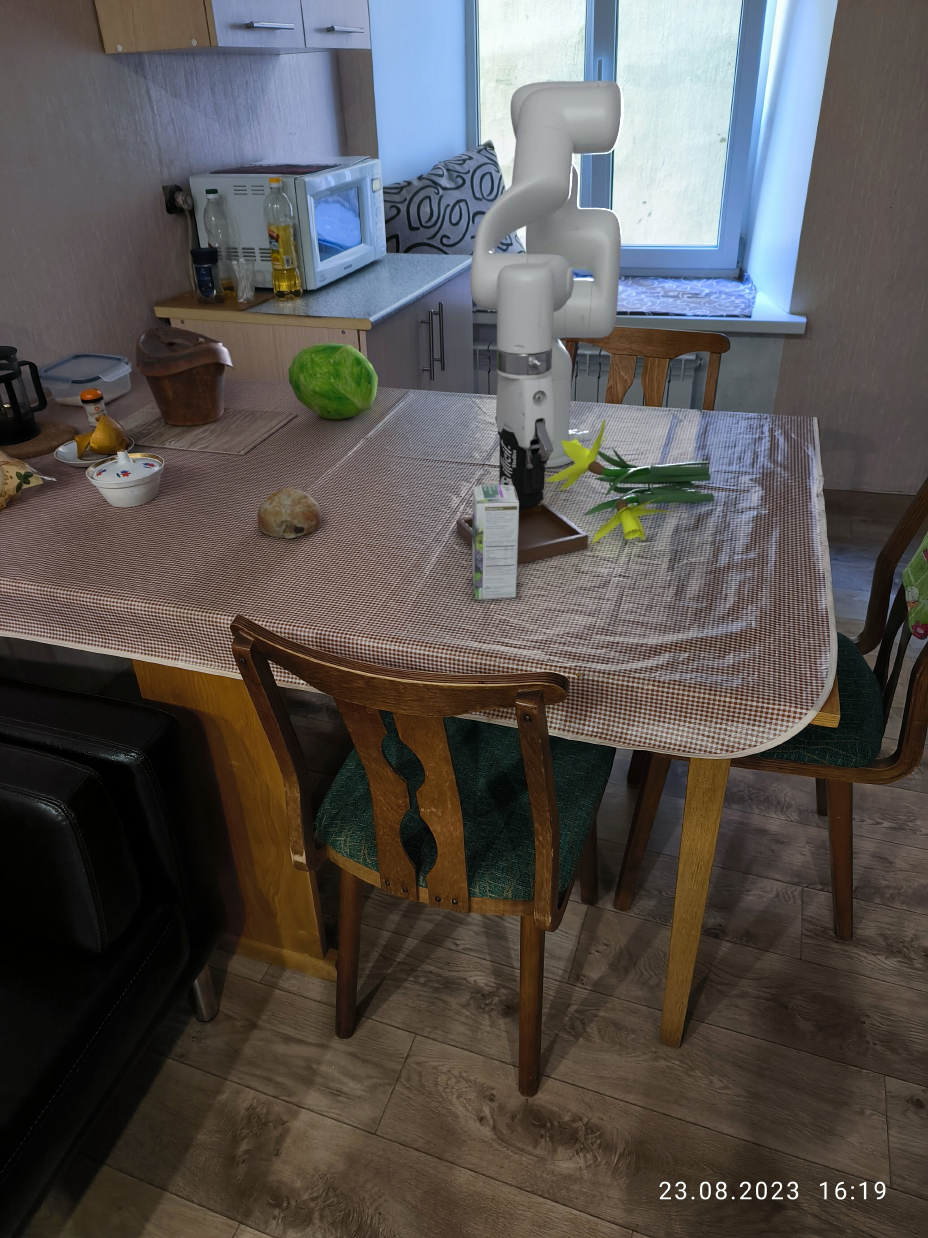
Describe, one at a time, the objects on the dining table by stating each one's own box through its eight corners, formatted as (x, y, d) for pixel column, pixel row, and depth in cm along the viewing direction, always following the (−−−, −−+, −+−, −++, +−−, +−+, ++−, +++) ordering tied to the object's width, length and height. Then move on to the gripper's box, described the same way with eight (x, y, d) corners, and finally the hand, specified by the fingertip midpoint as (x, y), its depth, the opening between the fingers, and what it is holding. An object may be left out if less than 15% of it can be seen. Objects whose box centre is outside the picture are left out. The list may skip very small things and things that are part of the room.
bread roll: (268, 560, 136) (268, 527, 129) (248, 514, 140) (247, 479, 134) (327, 546, 140) (330, 513, 133) (306, 501, 144) (308, 467, 138)
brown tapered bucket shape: (230, 430, 178) (216, 342, 169) (135, 431, 178) (115, 343, 169) (250, 403, 193) (237, 321, 184) (162, 404, 194) (145, 322, 184)
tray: (544, 514, 140) (544, 501, 139) (587, 548, 130) (588, 534, 128) (456, 533, 135) (456, 519, 134) (494, 570, 124) (494, 556, 123)
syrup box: (471, 580, 122) (470, 485, 114) (512, 578, 122) (514, 482, 115) (475, 600, 117) (474, 502, 109) (518, 598, 117) (520, 500, 110)
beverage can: (540, 512, 125) (542, 433, 119) (495, 509, 127) (496, 430, 120) (545, 494, 131) (548, 418, 125) (503, 492, 132) (503, 416, 126)
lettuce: (401, 405, 189) (367, 339, 190) (373, 385, 169) (334, 312, 170) (337, 444, 193) (303, 380, 194) (302, 429, 173) (264, 357, 174)
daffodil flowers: (752, 520, 139) (625, 532, 115) (676, 542, 149) (544, 557, 125) (729, 419, 139) (598, 410, 115) (655, 448, 150) (520, 445, 126)
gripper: (580, 373, 112) (573, 499, 122) (519, 344, 126) (517, 459, 135) (529, 380, 110) (526, 509, 119) (473, 350, 123) (474, 467, 133)
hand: (521, 482), depth 127 cm, fingers closed on beverage can, 6 cm apart
